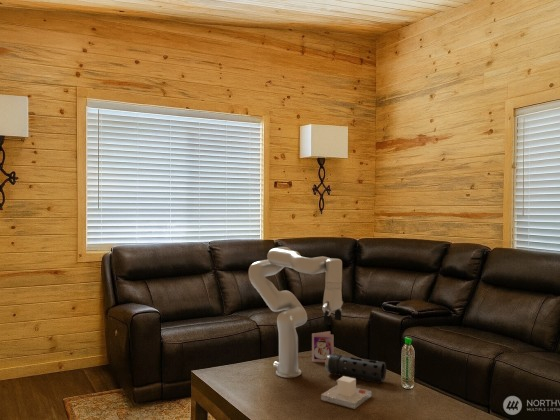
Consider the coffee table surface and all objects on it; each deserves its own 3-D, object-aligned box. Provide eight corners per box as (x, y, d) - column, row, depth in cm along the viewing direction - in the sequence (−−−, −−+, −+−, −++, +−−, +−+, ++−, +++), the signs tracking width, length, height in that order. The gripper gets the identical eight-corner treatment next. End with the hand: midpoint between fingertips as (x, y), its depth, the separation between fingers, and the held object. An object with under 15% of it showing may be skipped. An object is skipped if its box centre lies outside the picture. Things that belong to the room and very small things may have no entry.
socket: (321, 400, 215) (321, 393, 215) (339, 388, 228) (339, 382, 228) (354, 409, 206) (354, 402, 206) (371, 396, 219) (371, 389, 219)
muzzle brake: (380, 387, 230) (380, 364, 230) (324, 376, 244) (324, 355, 243) (386, 380, 239) (386, 359, 238) (331, 370, 252) (331, 350, 252)
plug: (333, 397, 217) (333, 378, 217) (339, 392, 222) (339, 375, 222) (349, 401, 213) (349, 382, 213) (355, 397, 217) (355, 378, 217)
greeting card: (311, 362, 265) (311, 334, 264) (313, 357, 272) (313, 330, 272) (333, 363, 263) (333, 335, 263) (334, 358, 270) (334, 331, 270)
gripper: (335, 281, 241) (334, 317, 241) (316, 287, 227) (315, 324, 227) (349, 283, 236) (348, 319, 237) (330, 289, 222) (330, 327, 223)
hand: (332, 322), depth 232 cm, fingers open, 9 cm apart
